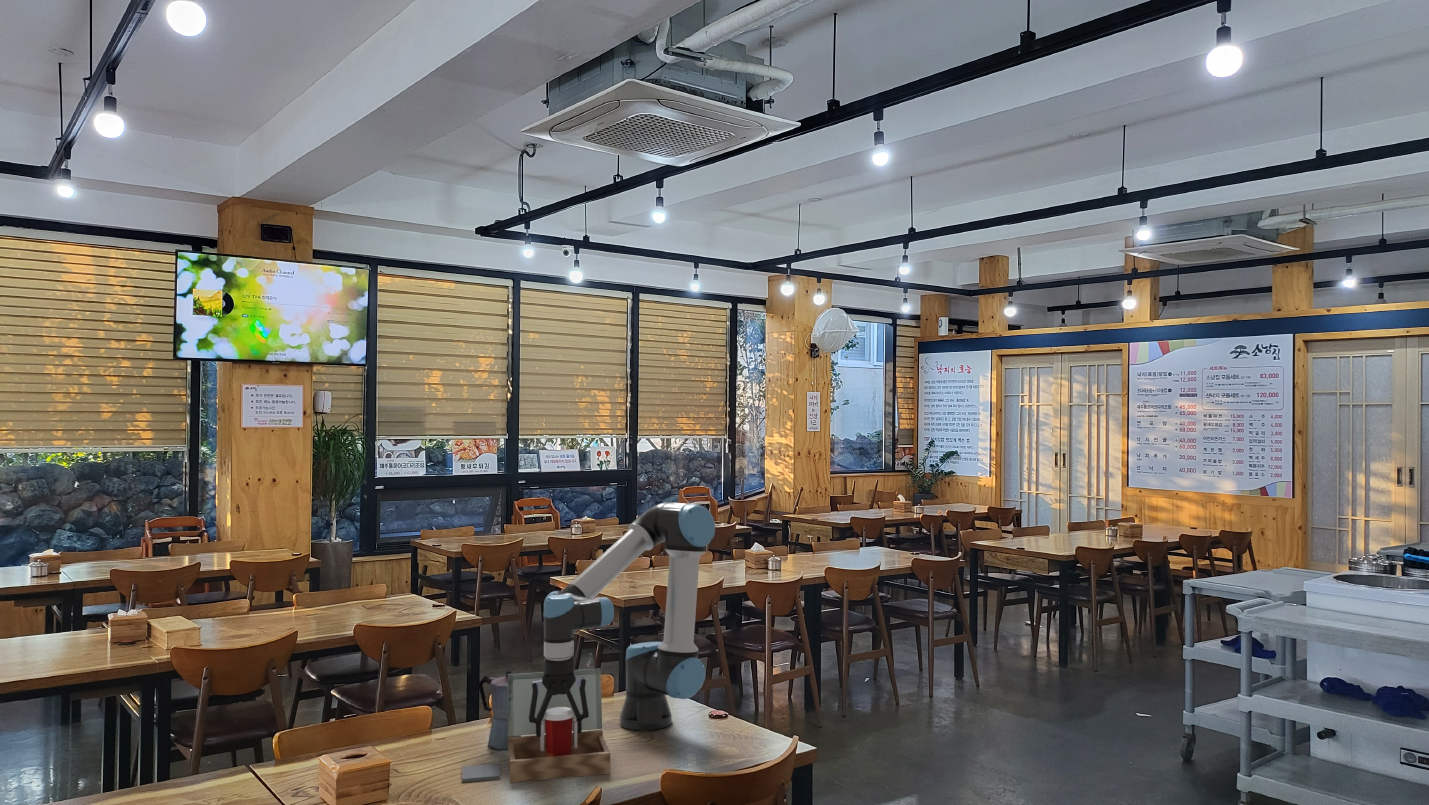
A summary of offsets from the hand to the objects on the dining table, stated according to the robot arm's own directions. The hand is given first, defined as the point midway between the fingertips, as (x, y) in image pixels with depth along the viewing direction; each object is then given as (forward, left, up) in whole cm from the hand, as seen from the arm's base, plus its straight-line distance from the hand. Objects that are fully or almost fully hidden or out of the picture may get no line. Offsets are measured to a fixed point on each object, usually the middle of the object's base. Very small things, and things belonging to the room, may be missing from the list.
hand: (558, 747), depth 234 cm
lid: (0, -9, +9) cm, 13 cm away
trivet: (+19, 0, -5) cm, 20 cm away
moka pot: (+13, -21, -5) cm, 25 cm away
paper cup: (0, 0, -5) cm, 5 cm away
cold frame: (0, 0, -5) cm, 5 cm away
